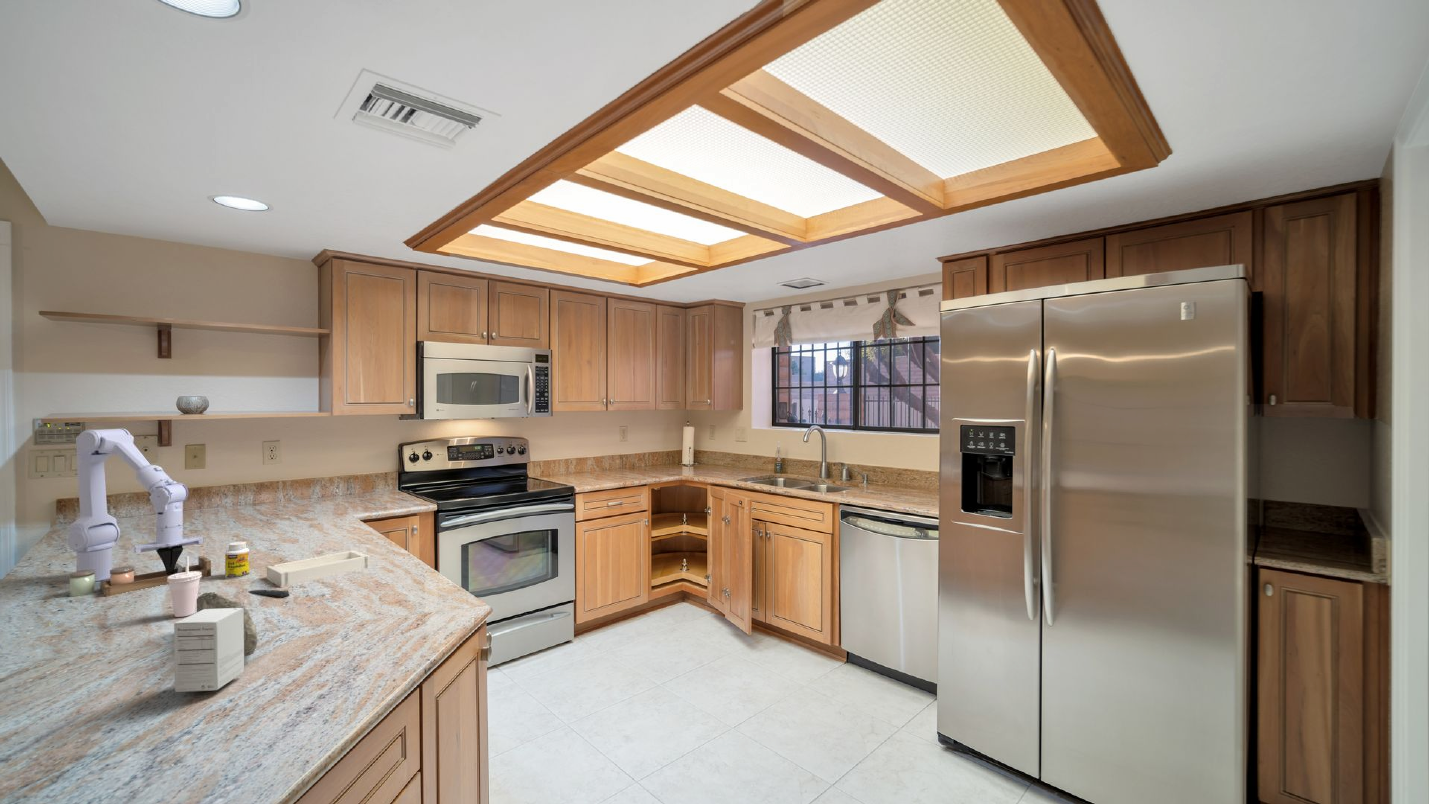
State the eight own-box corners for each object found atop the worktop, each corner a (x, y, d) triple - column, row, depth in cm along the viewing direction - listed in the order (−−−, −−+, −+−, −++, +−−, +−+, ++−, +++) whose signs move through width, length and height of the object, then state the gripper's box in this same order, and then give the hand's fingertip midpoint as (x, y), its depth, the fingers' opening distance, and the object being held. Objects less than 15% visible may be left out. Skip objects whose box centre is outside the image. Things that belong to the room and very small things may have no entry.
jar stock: (108, 590, 163) (108, 569, 163) (132, 586, 167) (132, 565, 167) (111, 594, 160) (111, 572, 160) (136, 589, 164) (136, 568, 164)
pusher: (172, 577, 174) (172, 564, 174) (181, 575, 175) (181, 562, 175) (177, 581, 170) (177, 567, 170) (186, 579, 172) (186, 565, 172)
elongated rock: (185, 630, 135) (185, 587, 135) (215, 623, 139) (214, 581, 139) (241, 670, 115) (241, 619, 115) (273, 660, 119) (273, 611, 119)
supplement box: (204, 673, 113) (204, 608, 113) (245, 672, 114) (245, 606, 114) (172, 692, 106) (172, 622, 106) (216, 691, 106) (216, 621, 106)
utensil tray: (266, 580, 172) (266, 566, 172) (353, 562, 191) (353, 550, 191) (281, 588, 165) (281, 573, 165) (370, 569, 183) (370, 556, 183)
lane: (100, 590, 163) (100, 572, 163) (202, 572, 180) (202, 555, 180) (106, 597, 158) (106, 578, 158) (210, 577, 175) (210, 560, 175)
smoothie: (208, 611, 147) (208, 555, 147) (177, 620, 141) (177, 561, 141) (191, 608, 149) (191, 552, 149) (160, 617, 143) (160, 559, 143)
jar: (68, 594, 159) (67, 572, 159) (93, 590, 163) (93, 568, 163) (70, 598, 157) (70, 575, 157) (96, 593, 160) (96, 571, 160)
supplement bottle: (223, 581, 171) (223, 546, 171) (226, 576, 175) (226, 542, 175) (248, 578, 174) (248, 543, 174) (250, 573, 179) (250, 540, 179)
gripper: (137, 532, 163) (138, 581, 163) (205, 523, 174) (205, 569, 174) (132, 529, 167) (132, 577, 167) (199, 520, 179) (199, 565, 179)
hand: (169, 573), depth 171 cm, fingers closed
